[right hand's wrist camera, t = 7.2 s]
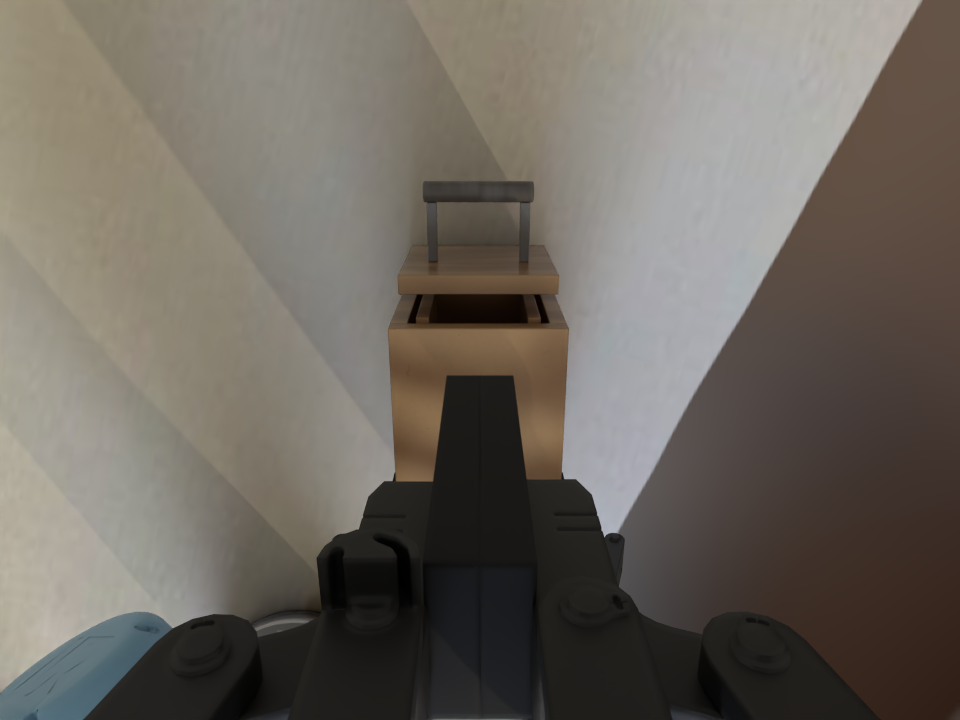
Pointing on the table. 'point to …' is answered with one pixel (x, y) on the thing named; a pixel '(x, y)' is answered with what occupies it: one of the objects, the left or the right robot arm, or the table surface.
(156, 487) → the table surface
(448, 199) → the drawer
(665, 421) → the table surface
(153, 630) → the left robot arm
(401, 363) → the cabinet
